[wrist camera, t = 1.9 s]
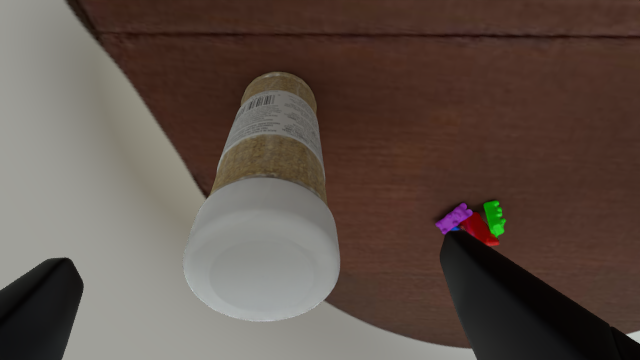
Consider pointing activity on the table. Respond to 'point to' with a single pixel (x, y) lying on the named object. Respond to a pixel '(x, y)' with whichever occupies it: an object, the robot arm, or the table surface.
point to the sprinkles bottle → (266, 211)
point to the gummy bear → (475, 222)
